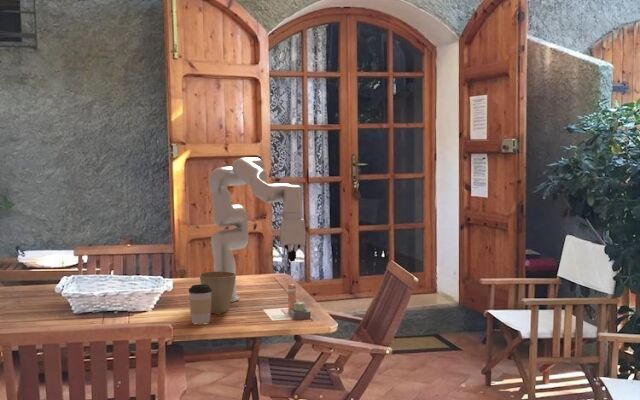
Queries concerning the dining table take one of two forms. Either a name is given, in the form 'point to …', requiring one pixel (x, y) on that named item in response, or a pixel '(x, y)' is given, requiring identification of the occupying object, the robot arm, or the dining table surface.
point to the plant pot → (219, 289)
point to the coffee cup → (200, 303)
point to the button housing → (300, 314)
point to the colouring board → (278, 314)
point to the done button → (299, 307)
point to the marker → (291, 296)
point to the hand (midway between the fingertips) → (291, 260)
